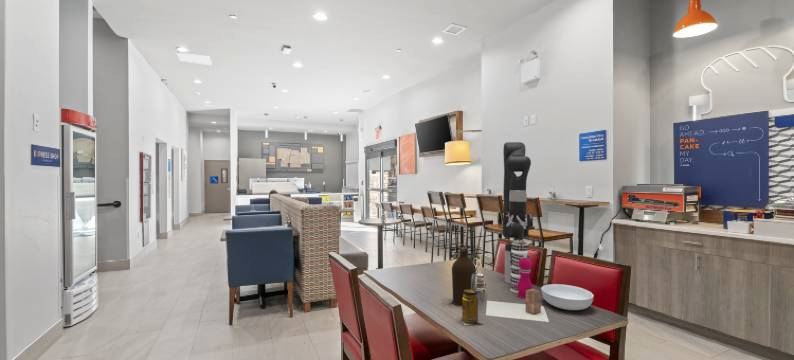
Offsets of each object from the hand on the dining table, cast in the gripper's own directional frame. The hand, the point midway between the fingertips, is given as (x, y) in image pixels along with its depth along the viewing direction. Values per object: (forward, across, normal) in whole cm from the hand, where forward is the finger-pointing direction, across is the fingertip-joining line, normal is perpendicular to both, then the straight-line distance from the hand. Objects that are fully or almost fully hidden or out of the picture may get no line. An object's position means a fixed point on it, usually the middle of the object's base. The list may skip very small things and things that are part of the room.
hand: (517, 236), depth 164 cm
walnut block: (+30, -12, +5) cm, 33 cm away
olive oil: (+30, +12, +22) cm, 39 cm away
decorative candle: (+30, +10, -15) cm, 35 cm away
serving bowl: (+30, -16, -14) cm, 37 cm away
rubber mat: (+30, -7, +10) cm, 32 cm away
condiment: (+30, -4, +33) cm, 45 cm away
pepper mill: (+30, +2, -9) cm, 32 cm away
